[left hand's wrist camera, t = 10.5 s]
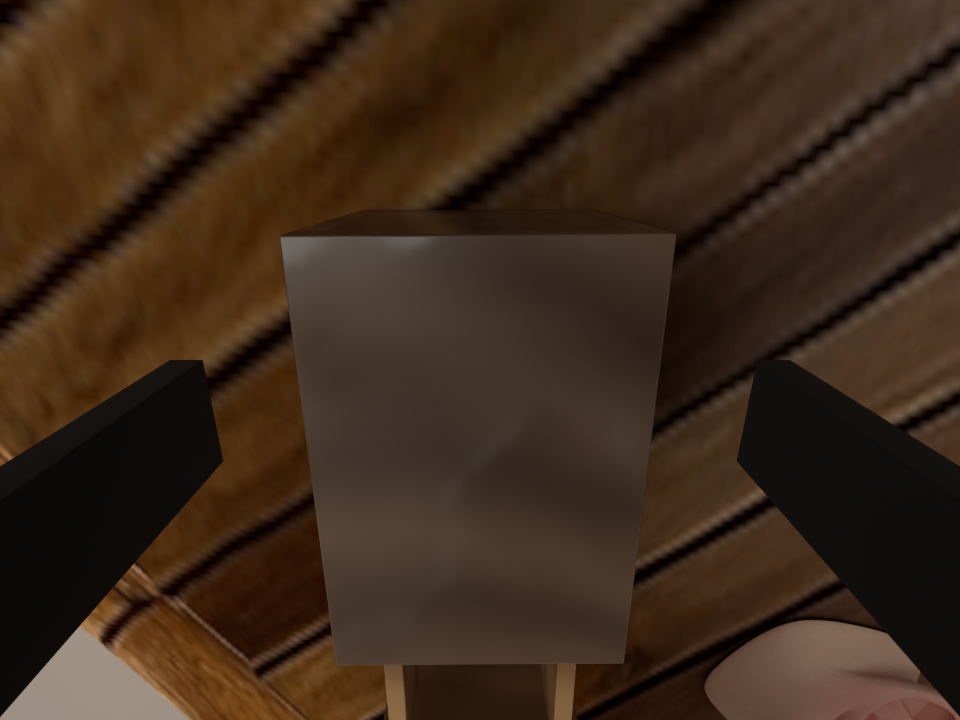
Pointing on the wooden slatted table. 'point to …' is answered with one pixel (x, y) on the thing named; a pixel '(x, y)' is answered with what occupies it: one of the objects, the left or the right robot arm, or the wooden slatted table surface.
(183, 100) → the wooden slatted table surface
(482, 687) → the drawer
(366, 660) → the cabinet
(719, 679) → the anatomical model
